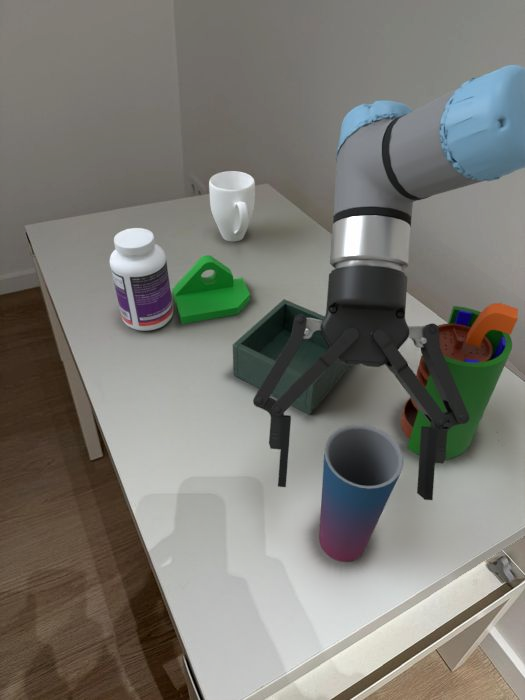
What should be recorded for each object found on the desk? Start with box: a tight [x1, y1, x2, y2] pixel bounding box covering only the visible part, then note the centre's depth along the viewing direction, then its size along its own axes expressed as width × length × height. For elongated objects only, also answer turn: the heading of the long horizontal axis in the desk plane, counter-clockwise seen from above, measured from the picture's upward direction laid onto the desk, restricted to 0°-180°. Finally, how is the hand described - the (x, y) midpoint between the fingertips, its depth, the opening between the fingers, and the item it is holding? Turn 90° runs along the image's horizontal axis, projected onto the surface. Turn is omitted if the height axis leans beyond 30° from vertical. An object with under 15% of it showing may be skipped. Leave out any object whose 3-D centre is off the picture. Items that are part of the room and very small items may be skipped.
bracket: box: [171, 254, 251, 325], centre depth 82 cm, size 12×8×7 cm, turn 107°
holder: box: [232, 299, 352, 416], centre depth 72 cm, size 13×13×6 cm
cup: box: [318, 423, 404, 563], centre depth 50 cm, size 7×7×15 cm
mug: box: [208, 170, 256, 242], centre depth 96 cm, size 12×8×11 cm
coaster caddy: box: [400, 302, 519, 460], centre depth 60 cm, size 10×9×20 cm
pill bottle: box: [109, 227, 174, 332], centre depth 77 cm, size 8×8×14 cm
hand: (352, 490), depth 49 cm, fingers open, 13 cm apart
